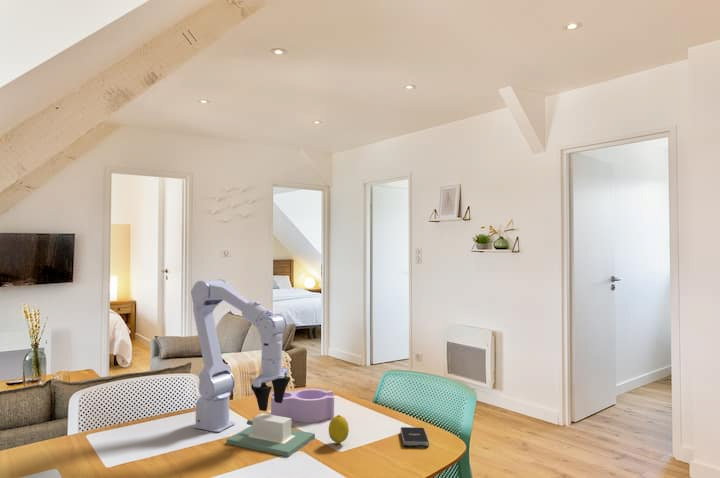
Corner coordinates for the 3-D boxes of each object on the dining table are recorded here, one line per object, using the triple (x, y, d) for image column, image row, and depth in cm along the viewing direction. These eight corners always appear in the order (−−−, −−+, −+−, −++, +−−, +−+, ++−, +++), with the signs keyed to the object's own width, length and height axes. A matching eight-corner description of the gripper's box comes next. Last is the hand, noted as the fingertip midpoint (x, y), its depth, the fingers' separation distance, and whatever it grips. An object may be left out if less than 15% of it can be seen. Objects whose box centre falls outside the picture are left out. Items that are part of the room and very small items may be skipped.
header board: (226, 443, 135) (226, 430, 135) (256, 426, 148) (256, 414, 148) (288, 456, 127) (288, 442, 127) (314, 437, 140) (315, 424, 140)
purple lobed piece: (269, 423, 151) (269, 401, 151) (272, 410, 164) (272, 389, 164) (334, 422, 153) (334, 399, 154) (332, 409, 166) (332, 388, 166)
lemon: (345, 448, 133) (346, 419, 133) (326, 447, 134) (326, 417, 134) (350, 441, 138) (350, 412, 138) (331, 439, 139) (331, 411, 139)
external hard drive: (403, 449, 134) (403, 441, 134) (400, 433, 145) (400, 427, 145) (429, 449, 134) (429, 442, 134) (423, 434, 145) (423, 427, 145)
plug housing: (243, 434, 139) (243, 416, 139) (252, 428, 143) (252, 411, 143) (282, 441, 134) (282, 423, 134) (291, 436, 138) (291, 418, 138)
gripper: (268, 365, 131) (267, 416, 130) (297, 354, 144) (296, 401, 144) (247, 362, 133) (246, 412, 133) (277, 352, 147) (276, 397, 147)
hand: (270, 406), depth 139 cm, fingers open, 7 cm apart
